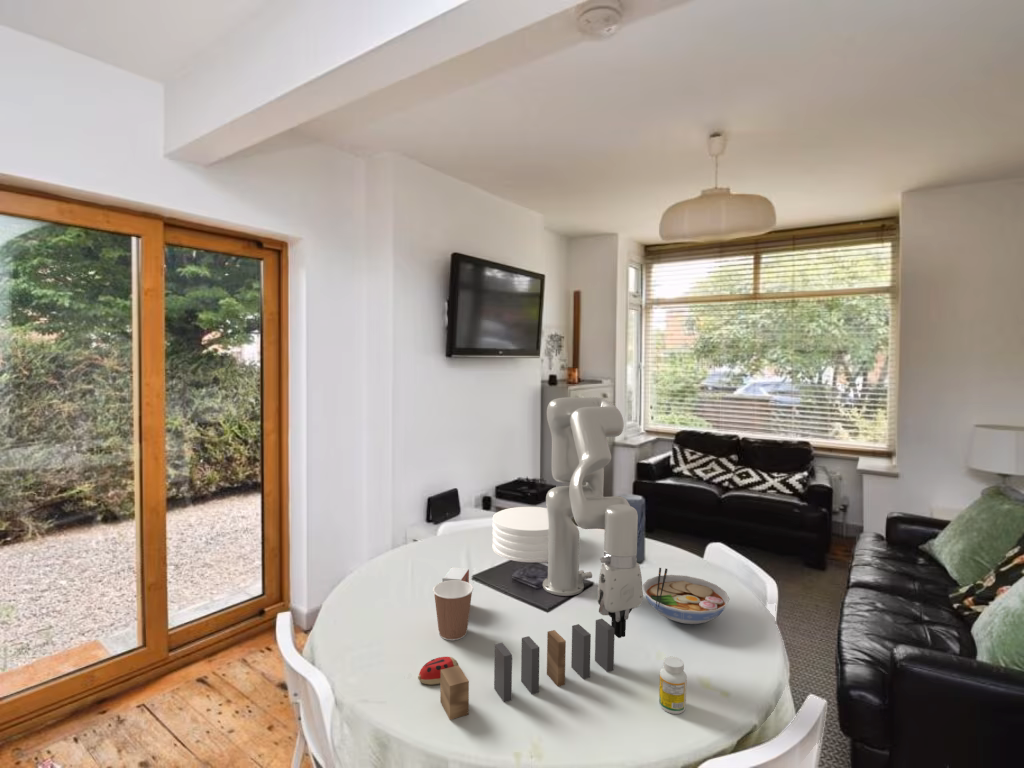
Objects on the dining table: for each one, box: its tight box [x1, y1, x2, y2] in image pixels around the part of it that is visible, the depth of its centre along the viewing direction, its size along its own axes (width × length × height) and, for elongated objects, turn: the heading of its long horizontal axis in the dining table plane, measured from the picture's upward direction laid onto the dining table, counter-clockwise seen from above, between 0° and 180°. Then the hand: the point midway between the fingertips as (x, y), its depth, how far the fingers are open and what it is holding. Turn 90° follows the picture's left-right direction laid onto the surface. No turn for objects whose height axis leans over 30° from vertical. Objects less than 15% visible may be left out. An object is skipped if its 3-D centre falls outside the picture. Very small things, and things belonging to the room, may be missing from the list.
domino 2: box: [520, 636, 540, 695], centre depth 119 cm, size 2×5×10 cm, turn 25°
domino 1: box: [493, 642, 513, 703], centre depth 116 cm, size 2×5×10 cm, turn 25°
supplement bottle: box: [658, 655, 688, 715], centre depth 113 cm, size 5×5×10 cm
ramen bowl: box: [642, 567, 730, 625], centre depth 151 cm, size 25×23×8 cm
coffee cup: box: [432, 580, 474, 641], centre depth 141 cm, size 10×10×12 cm
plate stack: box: [491, 506, 549, 563], centre depth 202 cm, size 28×28×12 cm
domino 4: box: [570, 623, 592, 680], centre depth 125 cm, size 2×5×10 cm, turn 25°
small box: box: [441, 567, 470, 583], centre depth 154 cm, size 8×6×10 cm
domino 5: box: [594, 618, 615, 673], centre depth 127 cm, size 2×5×10 cm, turn 25°
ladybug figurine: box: [417, 656, 460, 686], centre depth 123 cm, size 7×10×4 cm
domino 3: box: [546, 629, 567, 687], centre depth 122 cm, size 2×5×10 cm, turn 25°
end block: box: [439, 665, 470, 721], centre depth 112 cm, size 4×6×7 cm, turn 25°
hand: (618, 634), depth 129 cm, fingers closed
